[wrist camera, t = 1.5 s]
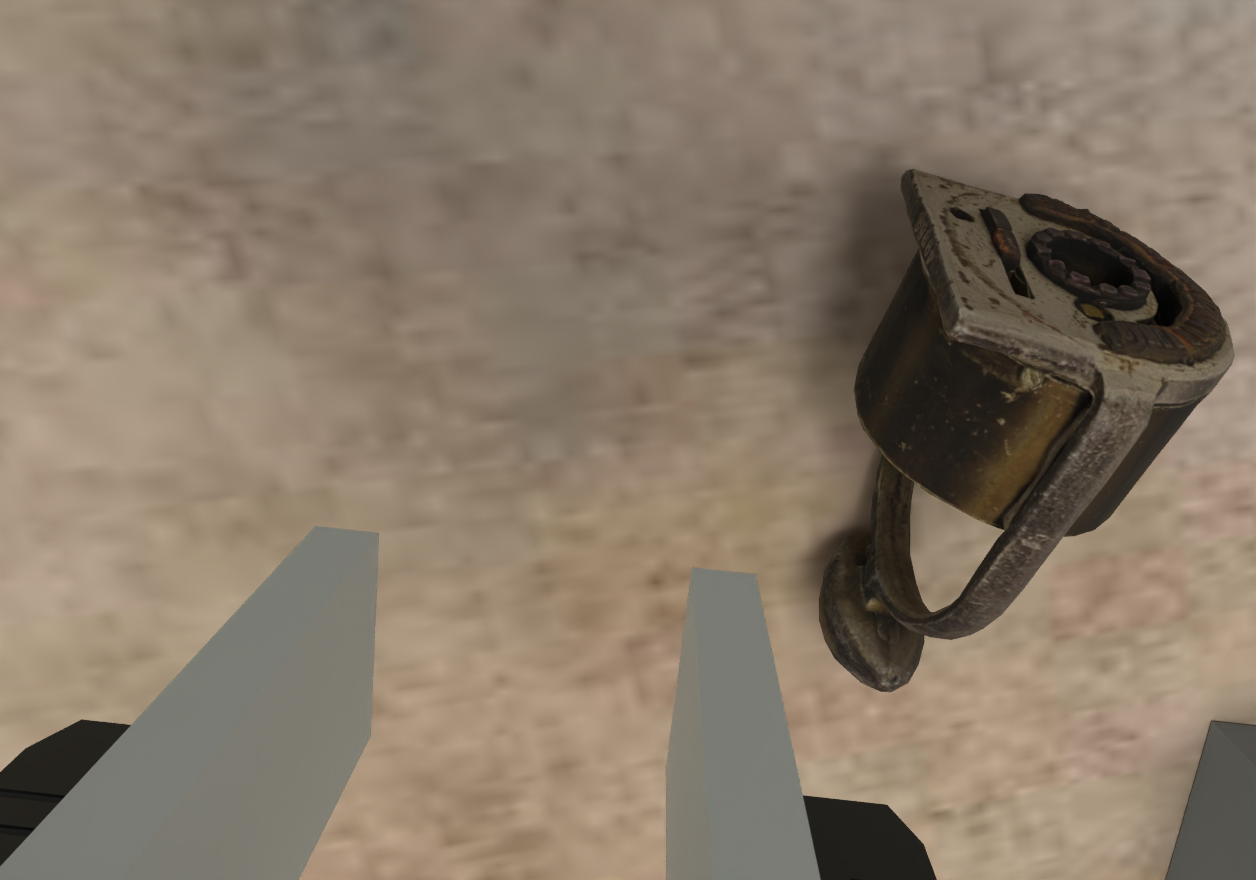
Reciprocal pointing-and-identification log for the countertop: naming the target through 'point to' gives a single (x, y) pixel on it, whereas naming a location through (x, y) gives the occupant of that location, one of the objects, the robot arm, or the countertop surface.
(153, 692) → the countertop surface
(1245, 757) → the rail bench
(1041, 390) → the dark metal piece
